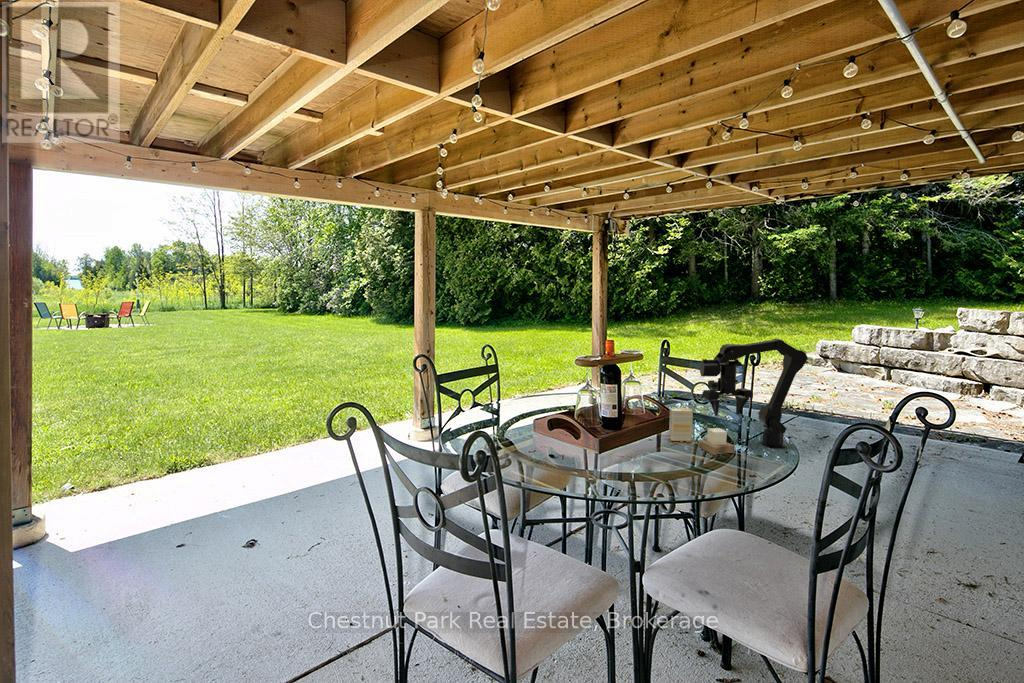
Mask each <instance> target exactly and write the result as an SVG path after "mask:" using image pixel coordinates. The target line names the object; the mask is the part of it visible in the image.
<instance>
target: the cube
mask: <svg viewBox="0 0 1024 683" xmlns="http://www.w3.org/2000/svg"><path fill="white" fill-rule="evenodd" d="M727 434H728V433H727V431H726V430H724V429H722V428H719V427H718V428H716V427H714V428H707V434H706V440H707V441H708V442H709V443H711V444H712V445H726V442H727Z"/></svg>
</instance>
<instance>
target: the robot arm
mask: <svg viewBox="0 0 1024 683" xmlns="http://www.w3.org/2000/svg"><path fill="white" fill-rule="evenodd" d="M719 348H720V349H719V352H718V353H717V354H716V355H715V356H714V358H713V359H708V358H703V359H701V362H700V366H699V374H700V377H718V376H720V377H718V378H717V381H715V380H707V388H708V389H704V390H703V391H702V392H701V397H702V398H704V399H705V400H707V401H708V402H709V403H710V405H711V408H712V411H713V414H714V416H715V417H718V414H719V407H720V400H719V398H720V397H734V398H735V400H736V404H735V405H736V406H735V414H736V415H737V416H739V415H740V413H741V412H742V410H743V408H744V406H745V405H746V404H747V402H748V401H750V400H751V399H752V398H754V393H753V391H752V390H751V389H748V388H745V387H744V388H736V386H737V383H738V382H739V380H738V379H737V366H740V367H741V366H743V363H741V361H739V359H741V358H744V357H745V356H747V355H752V354H758V353H765V352H771V351H776V352H778V353H779V354H780V355H781V356H783V360H782V371H781V374H780V375H779V378H778V381H777V384H776V386H775V388H774V390H773V393H772V395H771V398H770V400H769V401H768V402H767V404H766V405H764V404H761V406H760V409H759V411H758V413H757V414H758V420H759V422H760V423H761V424H762V426H763V428H764V429H763V432H762V441H760V444H762V445H764V446H766V447H768V448H771V449H772V448H774V449H777V448H786V445H784V434H785V433H786V431H787V427H785V425H784V424H783V423H782V422H781V420H782V416H783V415H782V412H783V410H782V408H783V406H784V404H785V403H784V402H785V401H786V398H787V395H788V394H789V392H790V388H791V386H792V385H793V384H792V383H793V382H794V379H795V377H796V375H797V374H798V373H799V371H800V370H802V369H803V367H804V365H805V364H806V363H807V361H808V355H807V354H806V352H805V351H803V350H801V349H796V348H795V347H793V346H792V345H790V344H788V343H787V342H785V341H784V340H783V339H780V338H773V339H770V340H763V341H757V342H751V343H750V342H749V343H745V344H736V343H725V344H723V345H721V346H720V347H719Z"/></svg>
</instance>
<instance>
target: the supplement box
mask: <svg viewBox="0 0 1024 683" xmlns="http://www.w3.org/2000/svg"><path fill="white" fill-rule="evenodd" d="M693 414H694V411H693V410H692V409H691V408H690V407H688V408H687V407H685V408H684V407H669V425H668V426H669V428H668V439H669V440H670V442H671V441H680V442H679V443H684V442H683V441H686V442H685V443H692V442H693V441H692V440H693V418H694V416H693Z"/></svg>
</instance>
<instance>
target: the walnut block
mask: <svg viewBox="0 0 1024 683" xmlns="http://www.w3.org/2000/svg"><path fill="white" fill-rule="evenodd" d="M699 448H701V449H703V450H705V451H707V452H709V453H711V454H713V455H715V456H718V455H717V454H726V453H734V454H735V448H736V446H735V445H734V444H731V443H729V442H727V441H726V445H712V444H711V443H709V442H708V441H707V439H703V440H698V449H699ZM701 449H700V450H701ZM703 450H702V451H703ZM705 451H704V452H705ZM707 452H706V453H707ZM709 453H708V454H709ZM711 454H710V455H711ZM713 455H712V456H713ZM726 455H727V454H726Z"/></svg>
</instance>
